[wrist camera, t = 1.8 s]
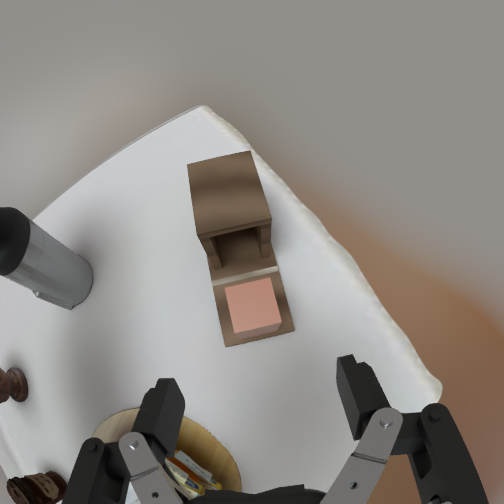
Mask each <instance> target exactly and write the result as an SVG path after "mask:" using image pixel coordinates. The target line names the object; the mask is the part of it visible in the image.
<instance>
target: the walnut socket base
mask: <svg viewBox="0 0 504 504" xmlns="http://www.w3.org/2000/svg"><path fill="white" fill-rule="evenodd" d="M187 168H188V176H189V184H190V191H191V198H192V206H193V212H194V219H195V226H196V232H197V236H198V238H199V240H200V242H201V244H202V246H203V248H204V250H205V252H206V254H207V259H208V264H209V270H210V275H211V280H212V286H213V291H214V296H215V301H216V306H217V310H218V315H219V320H220V325H221V329H222V334H223V339H224V343H225V347H229V346H234V345H239V344H243V343H248V342H252V341H257V340H261V339H265V338H269V337H273V336H277V335H281V334H285V333H289V332H293V331H295V329H294V325H293V321H292V318H291V314H290V310H289V307H288V303H287V299H286V296H285V292H284V288H283V285H282V281H281V277H280V274H279V270H278V266H277V263H276V260H275V256H274V252H273V249H272V245H271V242H270V239H271V221H272V217H271V214H270V211H269V208H268V204H267V201H266V198H265V195H264V192H263V188H262V185H261V182H260V179H259V176H258V173H257V170H256V166H255V163H254V160H253V157H252V154H251V151H245V152H240V153H235V154H230V155H225V156H221V157H216V158H212V159H208V160H203V161H199V162H195V163H191V164H187ZM269 277H270V279H271V283H272V286H273V290H274V294H275V298H276V302H277V305H278V309H279V313H280V317H281V321H282V323H281V325H280V326H279V328H278V330H277V331H276V332H272V333H268V334H263V335H259V336H255V337H251V338H246V339H241V338H239V337H238V336H237V335H236V334H235V333H234V329H233V324H232V320H231V315H230V311H229V306H228V302H227V297H226V292H225V288H226V287H230V286H235V285H239V284H244V283H248V282H252V281H256V280H261V279H265V278H269Z"/></svg>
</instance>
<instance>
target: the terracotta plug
mask: <svg viewBox="0 0 504 504" xmlns="http://www.w3.org/2000/svg"><path fill="white" fill-rule="evenodd" d="M225 292H226V297H227V302H228V306H229V311H230V315H231V320H232V324H233V329H234V333H235V334H236V335H237V336H238V337H239V338H241V339H246V338H251V337H255V336H259V335H263V334H268V333H272V332H276V331H277V330H278V328H279V326H280V325H281V323H282V321H281V317H280V313H279V309H278V305H277V302H276V298H275V294H274V290H273V286H272V283H271V279H270V277H269V278H265V279H261V280H256V281H252V282H248V283H244V284H239V285H235V286H230V287H226V288H225Z"/></svg>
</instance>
